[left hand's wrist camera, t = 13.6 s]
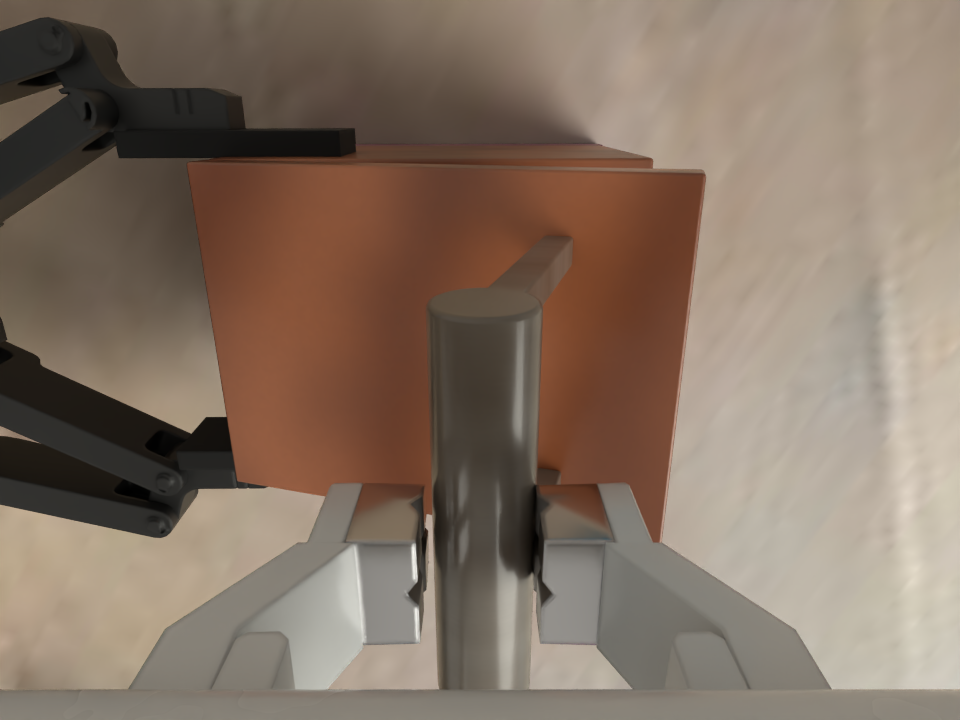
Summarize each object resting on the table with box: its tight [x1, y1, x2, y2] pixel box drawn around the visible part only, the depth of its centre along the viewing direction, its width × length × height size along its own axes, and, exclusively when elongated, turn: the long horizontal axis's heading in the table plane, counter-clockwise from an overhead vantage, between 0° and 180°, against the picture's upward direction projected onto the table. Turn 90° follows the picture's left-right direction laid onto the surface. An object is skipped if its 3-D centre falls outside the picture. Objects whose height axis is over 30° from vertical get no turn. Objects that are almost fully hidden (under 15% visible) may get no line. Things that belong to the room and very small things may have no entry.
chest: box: [209, 144, 653, 169], centre depth 24 cm, size 13×10×9 cm
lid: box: [187, 159, 706, 690], centre depth 14 cm, size 13×10×8 cm
